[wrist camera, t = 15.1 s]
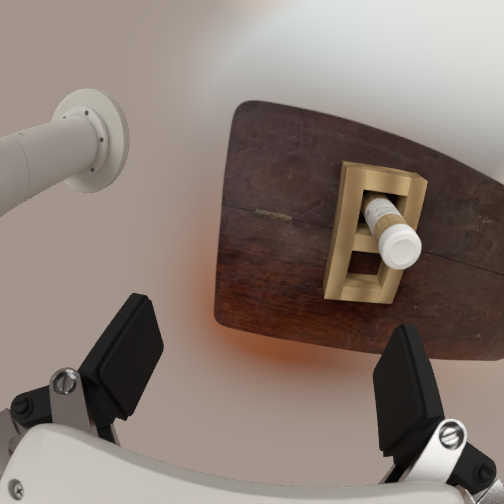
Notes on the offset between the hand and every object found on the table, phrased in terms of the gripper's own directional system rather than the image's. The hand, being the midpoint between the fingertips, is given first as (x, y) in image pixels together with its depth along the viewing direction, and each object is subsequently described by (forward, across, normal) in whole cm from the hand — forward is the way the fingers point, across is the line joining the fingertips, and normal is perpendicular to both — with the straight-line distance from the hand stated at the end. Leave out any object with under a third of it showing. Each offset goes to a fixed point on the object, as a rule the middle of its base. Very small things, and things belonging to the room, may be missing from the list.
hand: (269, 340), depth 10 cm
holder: (+30, -12, +9) cm, 34 cm away
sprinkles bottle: (+31, -12, +5) cm, 33 cm away
